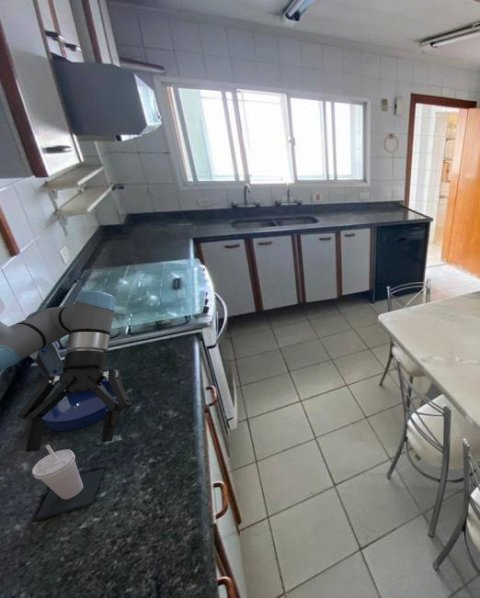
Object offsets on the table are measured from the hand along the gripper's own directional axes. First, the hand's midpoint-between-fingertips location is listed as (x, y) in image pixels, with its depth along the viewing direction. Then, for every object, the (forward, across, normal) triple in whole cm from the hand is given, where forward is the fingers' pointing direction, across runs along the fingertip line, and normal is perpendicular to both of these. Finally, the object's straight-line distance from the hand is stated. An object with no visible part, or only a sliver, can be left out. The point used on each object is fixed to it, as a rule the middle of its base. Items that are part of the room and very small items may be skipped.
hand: (70, 446), depth 74 cm
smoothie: (+10, 0, -3) cm, 10 cm away
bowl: (-11, +11, -24) cm, 29 cm away
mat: (+10, 0, -3) cm, 11 cm away
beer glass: (-25, +29, -38) cm, 54 cm away
